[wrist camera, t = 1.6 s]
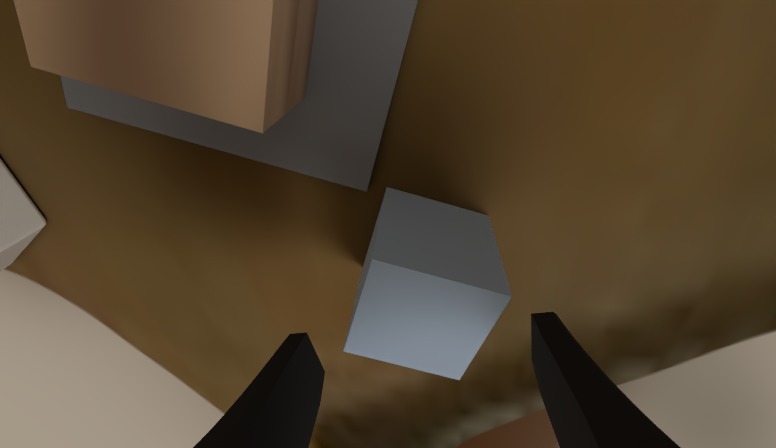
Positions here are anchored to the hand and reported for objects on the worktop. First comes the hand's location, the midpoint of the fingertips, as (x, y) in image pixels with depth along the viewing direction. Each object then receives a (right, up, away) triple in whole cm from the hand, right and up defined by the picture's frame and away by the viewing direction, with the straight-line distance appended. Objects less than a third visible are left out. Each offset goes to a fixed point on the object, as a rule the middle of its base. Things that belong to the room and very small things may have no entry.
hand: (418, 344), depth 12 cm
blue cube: (+1, +3, +5) cm, 6 cm away
